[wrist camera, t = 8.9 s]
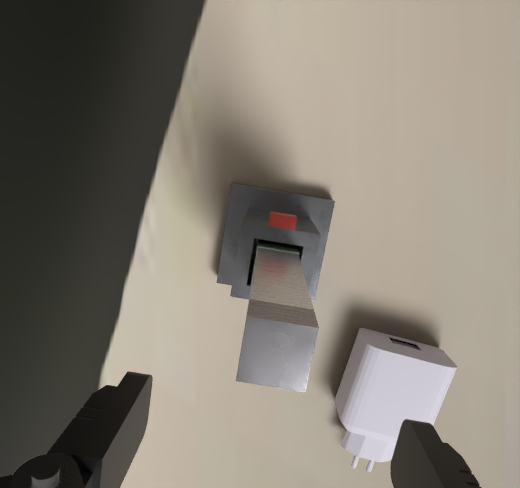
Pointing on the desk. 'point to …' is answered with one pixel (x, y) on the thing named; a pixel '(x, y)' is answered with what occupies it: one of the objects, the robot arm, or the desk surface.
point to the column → (278, 321)
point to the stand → (272, 233)
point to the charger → (388, 392)
